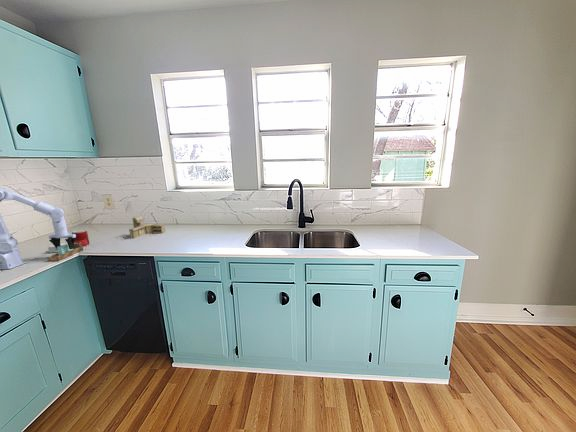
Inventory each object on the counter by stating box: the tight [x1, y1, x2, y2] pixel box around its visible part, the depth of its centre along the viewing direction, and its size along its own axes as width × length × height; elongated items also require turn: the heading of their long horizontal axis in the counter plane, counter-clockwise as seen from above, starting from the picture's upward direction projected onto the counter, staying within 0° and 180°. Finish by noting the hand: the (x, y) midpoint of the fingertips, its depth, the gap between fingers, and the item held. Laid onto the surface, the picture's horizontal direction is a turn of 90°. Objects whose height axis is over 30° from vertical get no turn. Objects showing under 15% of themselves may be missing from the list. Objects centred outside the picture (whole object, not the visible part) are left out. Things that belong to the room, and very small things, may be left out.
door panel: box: [57, 242, 73, 255], centre depth 151 cm, size 8×2×6 cm, turn 3°
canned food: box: [71, 228, 90, 248], centre depth 169 cm, size 8×8×11 cm
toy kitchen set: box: [128, 215, 166, 239], centre depth 190 cm, size 18×17×15 cm
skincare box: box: [47, 242, 67, 254], centre depth 160 cm, size 6×4×12 cm
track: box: [47, 243, 84, 263], centre depth 151 cm, size 18×6×5 cm, turn 3°
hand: (65, 249), depth 151 cm, fingers open, 7 cm apart
